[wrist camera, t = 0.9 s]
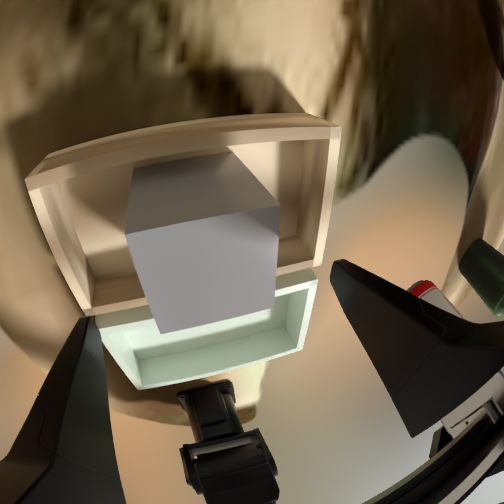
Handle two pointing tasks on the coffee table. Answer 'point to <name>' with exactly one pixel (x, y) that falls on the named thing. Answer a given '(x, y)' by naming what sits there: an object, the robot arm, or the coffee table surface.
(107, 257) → the bin
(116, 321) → the bin
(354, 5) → the coffee table surface
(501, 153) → the coffee table surface
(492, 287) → the potion bottle
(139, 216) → the stone block
